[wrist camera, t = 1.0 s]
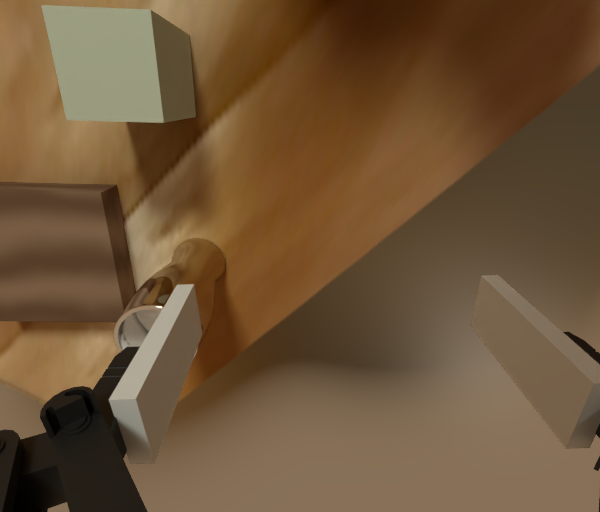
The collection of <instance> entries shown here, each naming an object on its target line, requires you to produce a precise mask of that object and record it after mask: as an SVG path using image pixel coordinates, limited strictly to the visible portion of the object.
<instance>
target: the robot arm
mask: <svg viewBox="0 0 600 512" xmlns="http://www.w3.org/2000/svg"><path fill="white" fill-rule="evenodd" d="M471 326H472V328H473V329H474V330H475V331H476V333H477V334H478V335H479V337H480V338H481V339H482V340H483V342H484V343H485V345H486V346H487V347H488V348H489V349H490V351H491V352H492V354H493V355H494V356H495V357H496V359H497V360H498V361H499V363H500V364H501V365H502V367H503V368H504V369H505V370H506V372H507V373H508V374H509V376H510V377H511V378H512V379H513V381H514V382H515V383H516V385H517V386H518V387H519V389H520V390H521V391H522V392H523V394H524V395H525V396H526V398H527V399H528V400H529V401H530V403H531V404H532V405H533V407H534V408H535V409H536V411H537V412H538V413H539V414H540V416H541V417H542V418H543V420H544V421H545V422H546V423H547V425H548V426H549V427H550V429H551V430H552V431H553V432H554V434H555V435H556V436H557V438H558V439H559V440H560V442H561V443H562V444H563V446H564V447H565V448H566V449H567V448H568V449H570V448H590V446H591V444H592V442H593V439H594V437H595V435H596V434H597V436H598V437H599V438H600V354H599V353H598V352H596V350H595V349H593V348H592V347H591V346H590V345H589V344H588V343H587V342H585V341H584V340H582V339H580V338H579V337H577V336H575V335H573V334H571V333H569V332H562V331H561V330H560V329H559V328H558V327H556V326H555V325H554V324H553V323H552V322H551V321H550V320H548V319H547V318H546V317H545V316H544V315H543V314H542V313H541V312H539V311H538V310H537V309H536V308H535V307H534V306H533V305H531V304H530V303H529V302H528V301H527V300H526V299H525V298H524V297H522V296H521V295H520V294H519V293H518V292H517V291H516V290H514V289H513V288H512V287H511V286H510V285H509V284H508V283H506V282H505V281H504V280H503V279H502V278H501V277H500V276H498V275H483V276H481V280H480V284H479V289H478V294H477V298H476V303H475V307H474V312H473V317H472V321H471ZM201 336H202V328H201V322H200V316H199V310H198V305H197V299H196V293H195V287H194V284H183V285H177V286H176V287H175V289H174V291H173V292H172V294H171V296H170V298H169V299H168V301H167V303H166V304H165V306H164V308H163V309H162V311H161V313H160V314H159V316H158V318H157V319H156V321H155V323H154V324H153V326H152V328H151V329H150V331H149V333H148V334H147V336H146V338H145V340H144V341H143V343H142V345H141V346H139V347H126V348H125V349H124V350H122V351H121V352H120V353H119V354H117V355H116V356H115V357H114V359H113V360H112V362H111V363H110V365H109V366H108V369H106V371H105V372H104V374H103V375H102V378H100V380H99V381H98V383H97V384H96V386H95V387H94V389H93V390H92V389H91V388H88V387H84V386H81V387H73V388H70V389H67V390H64V391H62V392H60V393H59V394H57V395H55V396H53V397H52V398H51V399H50V400H49V401H48V402H47V403H46V404H45V405H44V407H43V408H42V410H41V414H40V418H41V421H42V423H43V425H44V427H45V429H46V433H43V434H39V435H36V436H32V437H29V438H25V439H20V437H19V435H18V434H17V433H16V432H14V431H13V430H1V431H0V512H47V509H48V508H50V507H53V506H56V505H59V504H62V503H65V502H67V503H68V507H69V510H70V512H147V510H146V508H145V506H144V503H143V501H142V500H141V497H140V495H139V493H138V491H137V488H136V486H135V484H134V482H133V480H132V478H131V475H130V474H129V471H128V469H127V467H126V465H125V462H124V460H123V458H124V456H125V454H126V453H127V456H128V459H129V462H130V464H148V463H155V460H156V458H157V455H158V453H159V450H160V447H161V445H162V442H163V439H164V436H165V434H166V431H167V428H168V426H169V423H170V420H171V417H172V415H173V412H174V409H175V406H176V404H177V401H178V399H179V396H180V393H181V390H182V388H183V385H184V382H185V380H186V377H187V374H188V371H189V369H190V366H191V363H192V361H193V358H194V355H195V352H196V350H197V347H198V344H199V342H200V339H201ZM599 468H600V457H599V459H598V461H597V463H596V465H595V467H594V469H595V470H597V471H598V470H599ZM599 512H600V500H599Z"/></svg>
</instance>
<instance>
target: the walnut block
mask: <svg viewBox="0 0 600 512" xmlns="http://www.w3.org/2000/svg"><path fill="white" fill-rule="evenodd" d="M135 293H136V291H135V285H134V279H133V274H132V268H131V263H130V257H129V251H128V246H127V240H126V234H125V229H124V223H123V217H122V212H121V206H120V200H119V195H118V189H117V185H99V184H58V183H17V182H0V321H44V322H117V321H118V319H119V318H120V317H121V316H122V314H123V312H124V310H125V309H126V307H127V305H128V304H129V302H130V301H131V299H132V298H133V296H134V295H135Z"/></svg>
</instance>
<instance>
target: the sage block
mask: <svg viewBox="0 0 600 512" xmlns="http://www.w3.org/2000/svg"><path fill="white" fill-rule="evenodd" d="M42 10H43V14H44V19H45V23H46V28H47V32H48V37H49V42H50V46H51V51H52V55H53V60H54V64H55V69H56V73H57V78H58V82H59V87H60V91H61V96H62V101H63V105H64V110H65V114H66V119H67V120H82V121H116V122H150V123H166V122H171V121H177V120H182V119H188V118H193V117H196V109H195V97H194V85H193V73H192V61H191V48H190V36H189V35H188V34H187V33H185V32H184V31H182V30H181V29H179V28H178V27H176V26H175V25H173V24H172V23H170V22H169V21H167V20H165V19H164V18H162V17H161V16H159V15H158V14H156V13H155V12H153V11H152V10H145V9H120V8H96V7H72V6H48V5H42Z"/></svg>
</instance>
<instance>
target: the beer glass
mask: <svg viewBox="0 0 600 512" xmlns="http://www.w3.org/2000/svg"><path fill="white" fill-rule="evenodd" d="M224 271H225V258H224V255H223V253H222V252H221V250H220V249H219V248H218V247H217V246H216V245H215V244H214V243H212V242H210V241H208V240H205V239H200V238H194V239H189V240H186V241H184V242H182V243H181V244H180V245H179V246H178V247H177V248H176V250H175V251H174V254H173V257H172V260H171V262H170V263H169V264H168V265H166V266H165V267H163V268H162V269H161V270H159V271H158V272H156V273H155V274H154V275H153V276H151V277H150V278H149V279H148V280H147V281H146V282H145V283H144V284H143V285H142V286H141V287H140V288H139V290H138V291H137V292H136V293H135V295H134V296H133V298H132V299H131V301H130V302H129V304H128V305H127V307H126V309H125V310H124V312H123V314H122V316H121V317H120V318H119V319H118V321H117V323H116V325H115V328H114V342H115V345H116V348H117V350H118V351H119V353H120V352H121V351H122V350H124V349H125V348H126V347H139V346H141V345H142V343H143V341H144V340H145V338H146V336H147V334H148V333H149V331H150V329H151V328H152V326H153V324H154V323H155V321H156V319H157V318H158V316H159V314H160V313H161V311H162V309H163V308H164V306H165V304H166V303H167V301H168V299H169V298H170V296H171V294H172V292H173V291H174V289H175V287H176V286H177V285H183V284H194V287H195V293H196V299H197V305H198V310H199V316H200V322H201V328H202V336H201V339H200V342H199V344H198V347H197V350H198V348H199V346H200V345H201V343H202V341H203V339H204V337H205V334H206V332H207V330H208V327H209V325H210V321H211V318H212V315H213V309H214V302H215V284H216V283H217V282H218V280H219V279H220V278H221V277H222V275H223V273H224ZM197 350H196V352H195V355H194V357H195V356H196V354H197ZM193 359H194V358H193Z"/></svg>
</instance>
